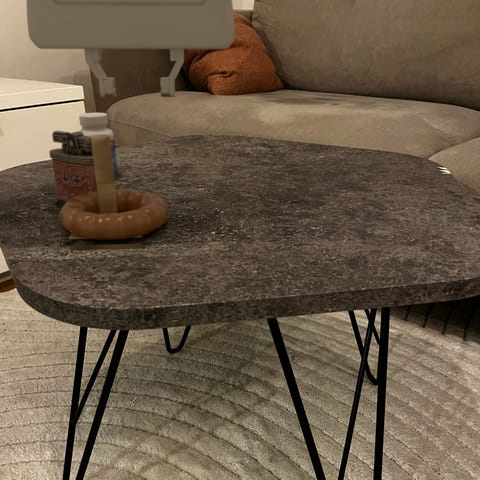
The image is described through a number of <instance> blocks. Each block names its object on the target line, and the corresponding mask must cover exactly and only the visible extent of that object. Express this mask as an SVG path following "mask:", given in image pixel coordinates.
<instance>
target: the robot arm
mask: <svg viewBox="0 0 480 480" xmlns="http://www.w3.org/2000/svg"><path fill="white" fill-rule="evenodd" d="M233 6H234V5H233V0H26V23H27V31H28V37H29V40H30V41H31V42H32V43H33V45H34V46H36V48H38V49H40V50H84V51H83V52H84V59H85V63H86V64H87V66H88V67H89V69H90V70H91V72H92V73H93V75H94V77H95V78H96V80H98V86H99V95H100V98H116V96H117V88H116V87H115V86H116V77H114V76H113V77H111V76H109V77H108V76H107V74H106V73H105V71H104V69H103V68H102V66H101V64H100V63H99V61H101V60H102V59H103V53H102V50H169V57H170V58H169V60H170V61H171V62H175V63H174V64H173V67H172V68H171V70H170V72H169V75H168V76H163V77H160V78H159V87H160V88H161V89H160V97H161V98H175V97H176V78H177V77H178V75H179V72H180V70H181V69H182V67H183V65H184V63H185V50H227V49H229V47H231V45H232V44H233V43H234V41H235V16H234V7H233Z"/></svg>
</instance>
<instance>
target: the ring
mask: <svg viewBox="0 0 480 480" xmlns="http://www.w3.org/2000/svg"><path fill="white" fill-rule="evenodd" d="M115 190H116V200H117V209H118V213H101V214H100V209H99V200H98V192H97V191H95V192H89V193H85V194H82V195H80V196H77V197H75V198H72V199H70V200H68V201H67V202H66V201H65V203H64V205H63V206H62V208H61V209H60V211H59V213H58V220H59V222H60V224H61V226H62V227H63V228H65V229H66V230H67V231H68V232H69V233H70V234H73V235H75V236H80V237H85V238H90V239H91V240H95V241H103V240H104V241H106V240H110V241H111V240H112V241H113V240H125V239H130V238H131V237H133V238H136V237H135V236H140V235H143V236H145V235H147V234H149V233H151V232H153V231H155V230H156V229H159V228H160V227H162V226H163V225H164V224H165V222H166V220H167V215H168V209H169V208H168V204H167V202H166V201H165V199H163V198H162V197H160V196H158V195H156V194H155V193H152V192H150V191H147V190H146V191H145V190H139V189H134V188H133V189H132V188H115ZM90 239H89V240H90ZM131 239H132V238H131Z"/></svg>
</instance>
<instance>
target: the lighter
mask: <svg viewBox="0 0 480 480" xmlns="http://www.w3.org/2000/svg"><path fill="white" fill-rule="evenodd" d="M51 136H52V142H53V143H58V144H61V147H60V148H53V149H50V150H49V152H48V153H49V158H50V159H51V162H52V168H53V169H52V170H53V174H54V182H55V187H56V194H57V199H58V200H61V201H63V202H65V203H66V202H67V201H68V200H70V199H72V198H75V197H77V196H80V195H82V194H85V193H89V192H95V191H97V184H96V176H95V168H94V159H93V152H92V143H91V137H90V136H84V135H83V133H82V132H80V131H79V130H78V131H74V132H69V131H64V130H63V131H62V130H53V132H52V133H51Z"/></svg>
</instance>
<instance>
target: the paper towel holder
mask: <svg viewBox="0 0 480 480" xmlns="http://www.w3.org/2000/svg"><path fill="white" fill-rule="evenodd" d="M91 143H92V151H93V159H94V168H95V176H96V184H97V192H98V200H99V209H100V214H101V213H118V209H117V200H116V190H115V189H116V182H115V174H114V172H113V162H112V153H111V144H110V136H109V135H104V134H100V135H93V136H91ZM143 236H144V235H140V236H135V237H131V239H133V238H143ZM68 239H69V240H88V239H89V240H90V238H85V237H80V236H75V235H73V234H72V233H70V235H69V238H68ZM144 246H145V243H122V244H119V243H117V244H88V245H87V244H83V245H70V251H95V250H96V251H97V250H98V251H100V250H102V251H103V250H133V249H134V250H135V249H136V250H139V249H144Z"/></svg>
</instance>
